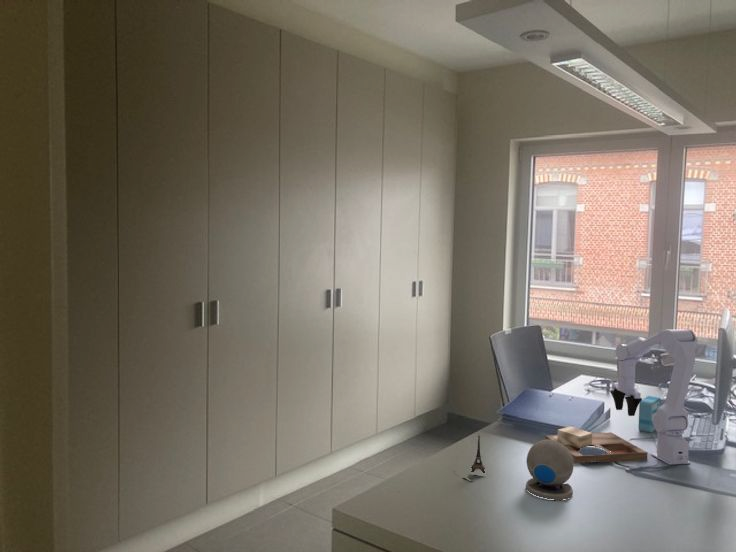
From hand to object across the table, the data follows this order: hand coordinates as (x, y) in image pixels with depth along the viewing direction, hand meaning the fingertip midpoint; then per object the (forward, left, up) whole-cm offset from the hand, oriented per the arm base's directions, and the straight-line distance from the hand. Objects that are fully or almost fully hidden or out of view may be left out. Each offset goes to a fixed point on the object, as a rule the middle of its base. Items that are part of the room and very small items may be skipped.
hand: (625, 412), depth 220 cm
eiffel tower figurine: (-24, +67, -10) cm, 71 cm away
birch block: (-10, +26, -7) cm, 28 cm away
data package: (+8, -16, -10) cm, 20 cm away
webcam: (-41, +51, -10) cm, 66 cm away
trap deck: (-12, +19, -9) cm, 24 cm away
